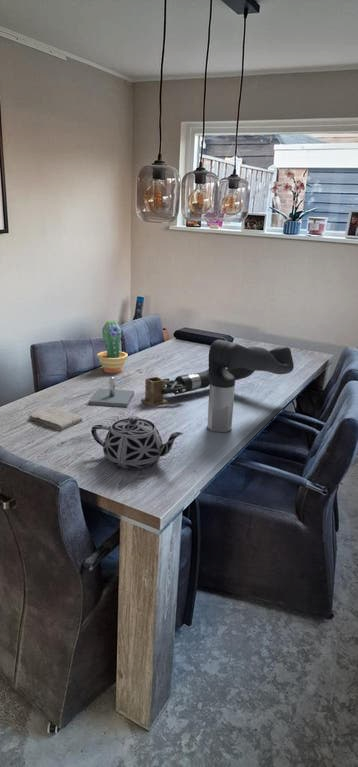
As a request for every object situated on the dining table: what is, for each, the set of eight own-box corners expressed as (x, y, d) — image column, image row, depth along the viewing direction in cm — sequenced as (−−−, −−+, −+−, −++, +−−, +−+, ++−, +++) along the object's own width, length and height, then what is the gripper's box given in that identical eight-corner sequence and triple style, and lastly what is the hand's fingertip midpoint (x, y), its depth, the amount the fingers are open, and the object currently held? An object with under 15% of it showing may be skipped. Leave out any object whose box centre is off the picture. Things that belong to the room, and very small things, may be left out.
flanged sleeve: (167, 403, 216) (168, 380, 212) (151, 406, 211) (151, 383, 208) (157, 397, 222) (157, 375, 219) (141, 400, 217) (141, 378, 214)
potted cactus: (92, 373, 251) (91, 322, 244) (102, 364, 266) (102, 316, 258) (123, 375, 249) (123, 325, 241) (131, 367, 264) (132, 319, 256)
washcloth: (50, 411, 204) (49, 404, 203) (84, 422, 195) (83, 414, 194) (26, 420, 194) (26, 413, 193) (61, 432, 185) (61, 424, 184)
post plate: (127, 407, 210) (127, 384, 207) (88, 404, 211) (88, 381, 208) (134, 394, 225) (134, 372, 222) (98, 391, 226) (98, 370, 223)
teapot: (174, 482, 153) (176, 436, 148) (79, 466, 160) (78, 422, 155) (189, 455, 171) (191, 413, 166) (103, 442, 178) (102, 401, 173)
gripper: (197, 395, 220) (165, 402, 211) (178, 386, 231) (147, 392, 222) (198, 379, 218) (166, 385, 209) (179, 370, 229) (147, 376, 220)
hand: (156, 389), depth 215 cm, fingers open, 8 cm apart
